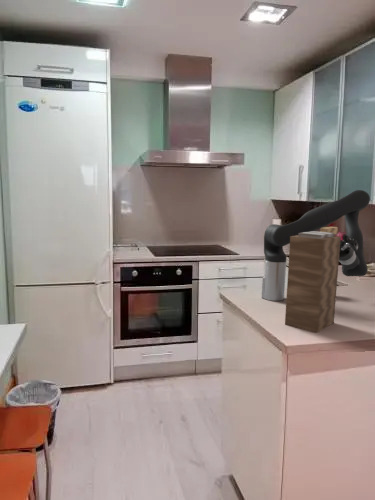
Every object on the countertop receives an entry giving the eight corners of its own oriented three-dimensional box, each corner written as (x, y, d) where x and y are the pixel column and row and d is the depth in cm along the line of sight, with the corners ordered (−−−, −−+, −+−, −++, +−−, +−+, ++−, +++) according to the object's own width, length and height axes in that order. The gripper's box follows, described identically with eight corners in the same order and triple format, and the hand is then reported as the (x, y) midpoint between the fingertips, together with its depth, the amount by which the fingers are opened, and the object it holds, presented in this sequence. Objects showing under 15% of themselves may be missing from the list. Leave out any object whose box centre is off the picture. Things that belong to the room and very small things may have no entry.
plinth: (316, 332, 135) (323, 239, 131) (284, 324, 143) (290, 236, 138) (333, 322, 146) (340, 236, 142) (303, 315, 154) (308, 233, 150)
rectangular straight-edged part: (320, 238, 133) (321, 230, 133) (298, 236, 139) (298, 229, 138) (344, 234, 150) (344, 227, 149) (323, 232, 155) (324, 226, 155)
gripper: (329, 243, 169) (317, 225, 157) (364, 246, 160) (354, 228, 148) (325, 258, 167) (312, 242, 156) (360, 263, 158) (349, 246, 146)
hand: (333, 235), depth 152 cm, fingers open, 8 cm apart
